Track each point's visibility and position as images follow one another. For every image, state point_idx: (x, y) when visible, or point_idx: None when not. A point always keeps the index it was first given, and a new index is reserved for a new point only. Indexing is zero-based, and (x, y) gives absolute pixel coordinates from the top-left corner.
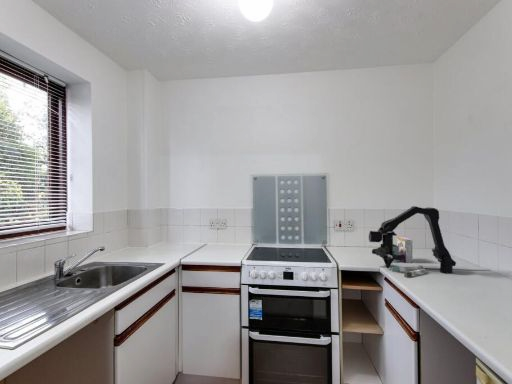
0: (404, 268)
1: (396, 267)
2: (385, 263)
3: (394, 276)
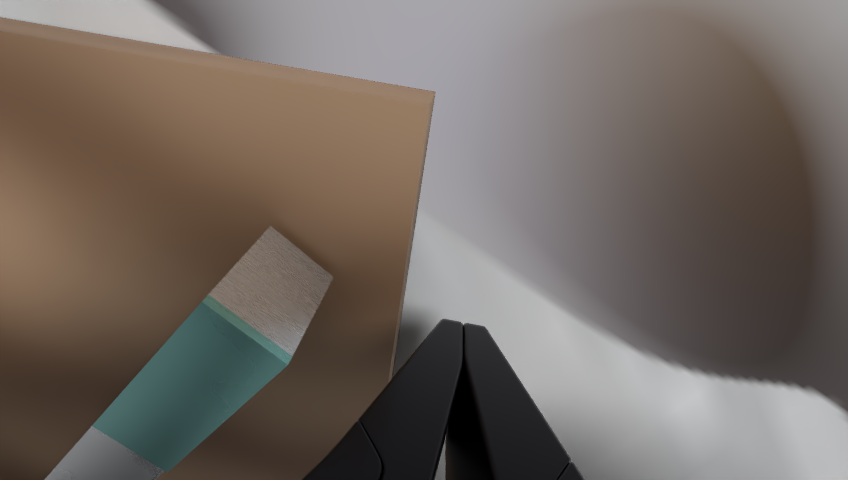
0: (59, 464)
1: (138, 374)
2: (522, 422)
3: (120, 30)
